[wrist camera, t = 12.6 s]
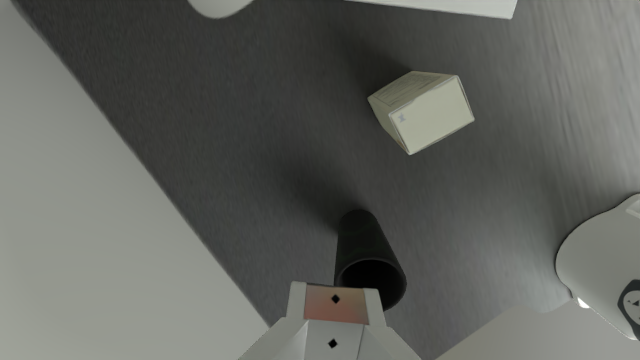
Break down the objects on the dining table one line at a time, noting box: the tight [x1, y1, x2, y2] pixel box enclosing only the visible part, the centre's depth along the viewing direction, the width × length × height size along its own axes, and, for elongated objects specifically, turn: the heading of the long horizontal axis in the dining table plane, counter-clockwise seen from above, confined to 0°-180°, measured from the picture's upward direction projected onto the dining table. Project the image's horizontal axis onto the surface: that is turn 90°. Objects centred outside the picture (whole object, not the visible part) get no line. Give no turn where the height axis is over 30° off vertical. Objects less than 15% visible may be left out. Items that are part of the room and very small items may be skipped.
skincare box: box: [367, 71, 474, 155], centre depth 31 cm, size 6×4×12 cm
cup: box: [334, 210, 407, 312], centre depth 38 cm, size 8×8×12 cm
